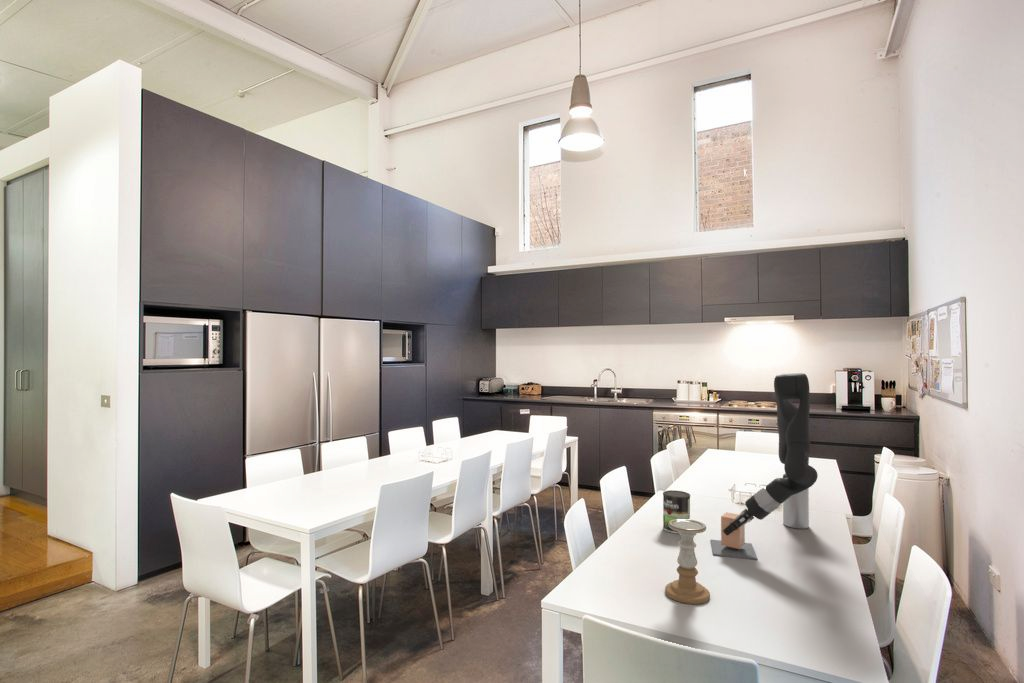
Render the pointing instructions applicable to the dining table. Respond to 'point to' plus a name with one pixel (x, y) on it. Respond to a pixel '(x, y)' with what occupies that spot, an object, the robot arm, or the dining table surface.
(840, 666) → the dining table surface
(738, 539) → the tall peach brick
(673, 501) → the coffee can
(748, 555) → the charcoal mat
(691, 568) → the candle holder
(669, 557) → the dining table surface
